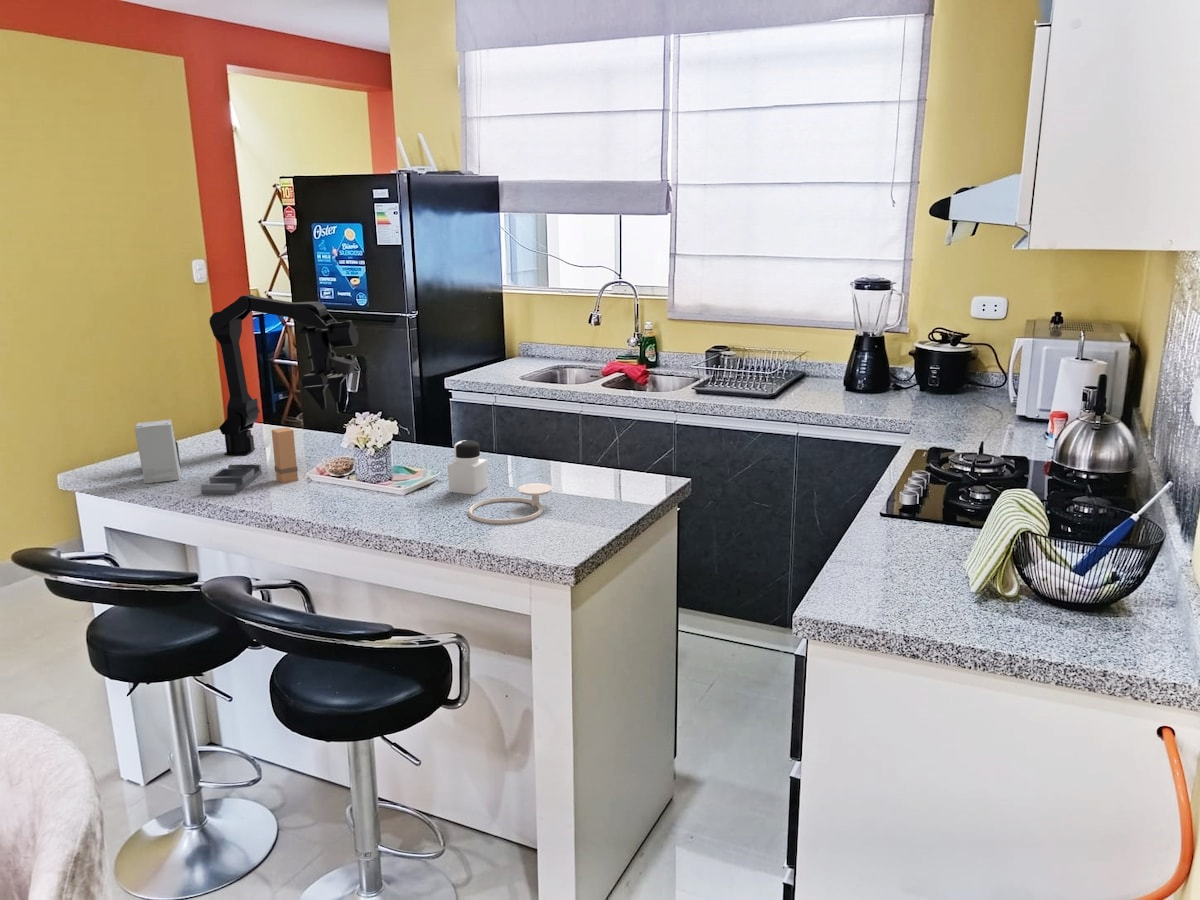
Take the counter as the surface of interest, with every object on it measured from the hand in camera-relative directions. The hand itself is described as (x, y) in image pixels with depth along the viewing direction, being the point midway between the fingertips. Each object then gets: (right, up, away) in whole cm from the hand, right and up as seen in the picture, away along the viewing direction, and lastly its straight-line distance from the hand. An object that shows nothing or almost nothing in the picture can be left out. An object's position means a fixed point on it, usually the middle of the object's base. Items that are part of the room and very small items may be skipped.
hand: (331, 405), depth 249 cm
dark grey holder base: (-18, -20, -22) cm, 35 cm away
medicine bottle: (+42, -22, -27) cm, 54 cm away
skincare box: (-38, -20, -18) cm, 46 cm away
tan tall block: (-6, -20, -19) cm, 28 cm away
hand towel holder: (+54, -26, -42) cm, 73 cm away
